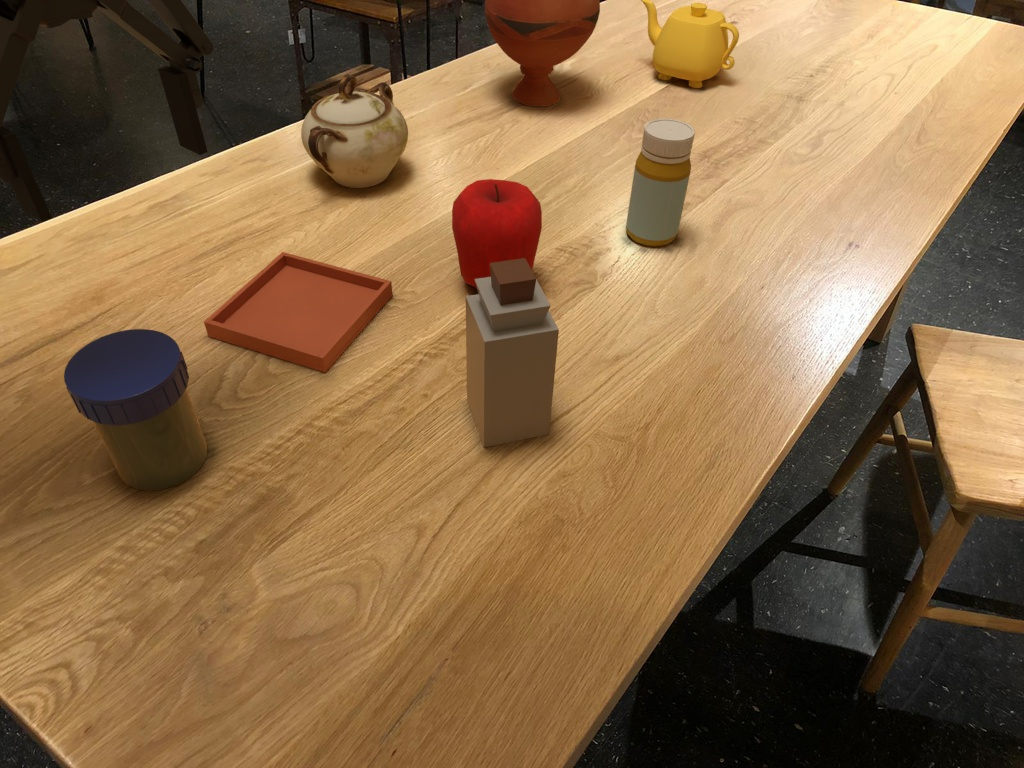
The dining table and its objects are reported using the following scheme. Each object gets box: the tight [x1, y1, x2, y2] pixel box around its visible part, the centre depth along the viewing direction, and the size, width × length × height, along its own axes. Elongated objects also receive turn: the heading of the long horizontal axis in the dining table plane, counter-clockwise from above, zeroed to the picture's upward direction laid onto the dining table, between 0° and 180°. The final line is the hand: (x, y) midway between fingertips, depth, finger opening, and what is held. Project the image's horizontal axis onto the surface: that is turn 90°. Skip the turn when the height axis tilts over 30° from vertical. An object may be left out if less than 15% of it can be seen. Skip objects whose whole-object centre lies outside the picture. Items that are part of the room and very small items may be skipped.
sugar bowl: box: [300, 73, 409, 189], centre depth 109 cm, size 20×15×15 cm
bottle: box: [625, 118, 696, 248], centre depth 99 cm, size 7×7×15 cm
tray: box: [203, 251, 394, 373], centre depth 88 cm, size 15×15×2 cm
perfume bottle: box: [465, 258, 560, 448], centre depth 72 cm, size 7×7×18 cm
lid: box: [63, 328, 190, 426], centre depth 65 cm, size 9×9×3 cm
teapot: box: [640, 0, 740, 89], centre depth 142 cm, size 14×20×13 cm
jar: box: [91, 387, 208, 492], centre depth 69 cm, size 8×8×12 cm
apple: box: [451, 178, 543, 289], centre depth 90 cm, size 11×10×14 cm
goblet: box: [484, 0, 601, 108], centre depth 128 cm, size 19×19×25 cm
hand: (121, 179), depth 60 cm, fingers open, 13 cm apart
